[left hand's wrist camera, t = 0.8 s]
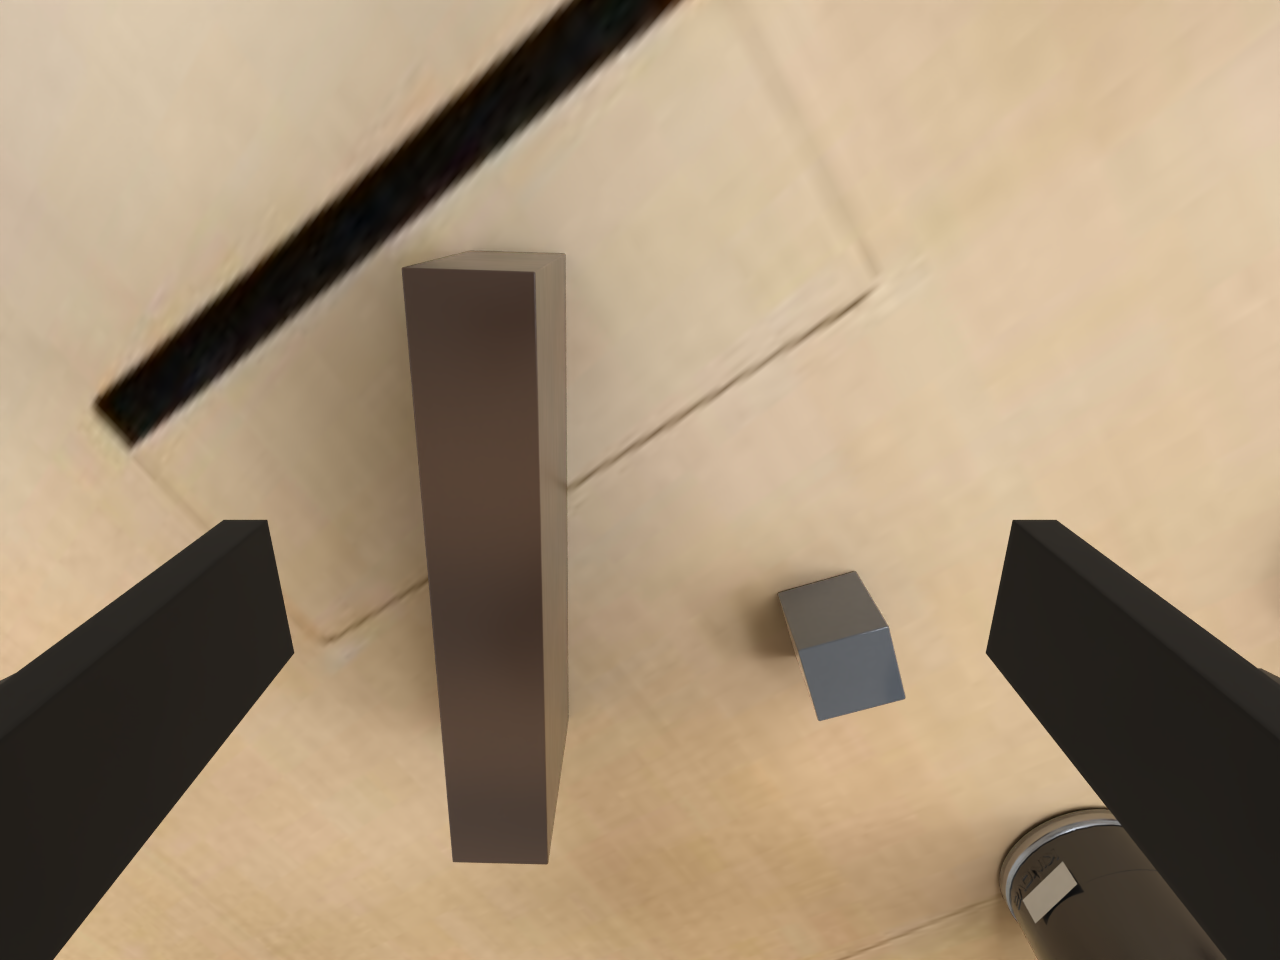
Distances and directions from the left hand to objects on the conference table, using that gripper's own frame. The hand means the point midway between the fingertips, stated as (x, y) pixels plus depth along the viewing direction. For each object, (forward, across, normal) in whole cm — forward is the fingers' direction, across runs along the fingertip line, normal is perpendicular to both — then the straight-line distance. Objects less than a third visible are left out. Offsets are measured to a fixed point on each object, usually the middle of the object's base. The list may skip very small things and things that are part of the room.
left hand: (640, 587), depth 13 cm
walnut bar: (+20, -6, -7) cm, 22 cm away
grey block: (+20, +9, -13) cm, 25 cm away
